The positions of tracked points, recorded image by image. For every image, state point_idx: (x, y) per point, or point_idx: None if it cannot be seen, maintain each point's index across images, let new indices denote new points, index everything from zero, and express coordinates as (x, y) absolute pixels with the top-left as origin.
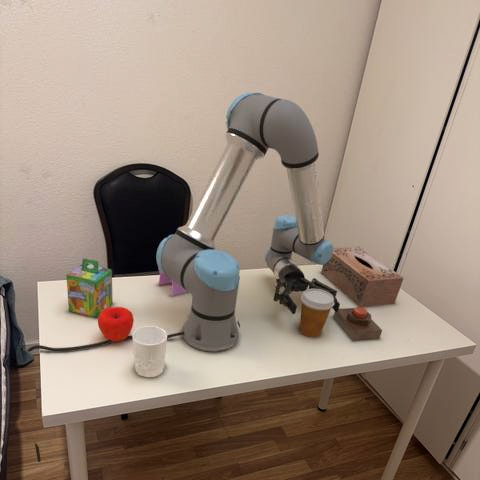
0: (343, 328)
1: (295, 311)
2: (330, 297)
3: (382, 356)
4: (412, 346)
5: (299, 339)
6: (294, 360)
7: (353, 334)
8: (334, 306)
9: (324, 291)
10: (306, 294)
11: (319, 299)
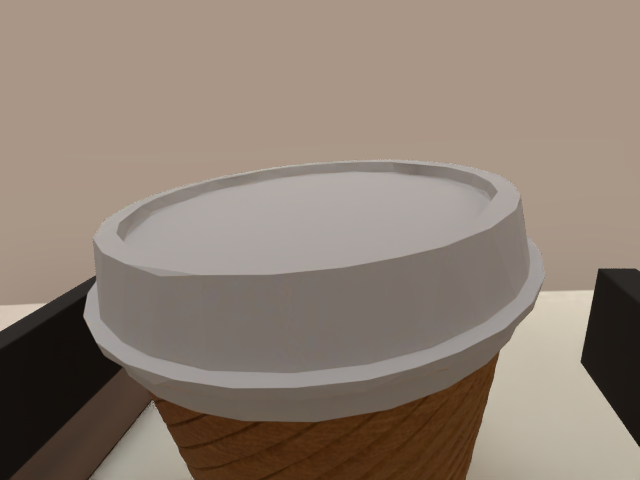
0: (80, 477)
1: (588, 332)
2: (184, 204)
3: None
4: (4, 324)
5: (476, 455)
6: (539, 329)
7: None
8: None
9: (119, 232)
10: (456, 223)
11: (332, 190)
